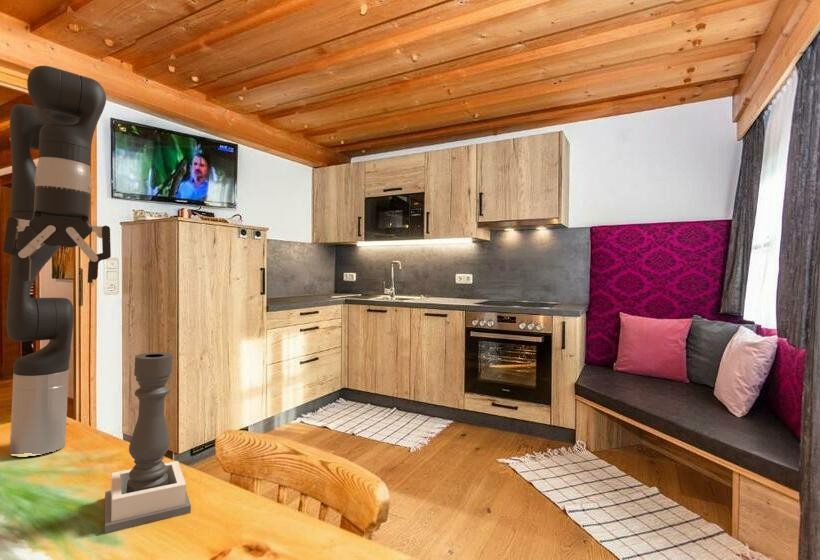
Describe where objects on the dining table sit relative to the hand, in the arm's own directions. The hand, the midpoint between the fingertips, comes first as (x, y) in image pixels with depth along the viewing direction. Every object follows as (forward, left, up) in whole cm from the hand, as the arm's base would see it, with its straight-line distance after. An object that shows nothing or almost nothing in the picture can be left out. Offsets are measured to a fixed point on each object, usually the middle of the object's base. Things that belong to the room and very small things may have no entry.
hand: (59, 281), depth 75 cm
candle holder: (+10, +14, -37) cm, 41 cm away
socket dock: (+10, +14, -38) cm, 42 cm away
